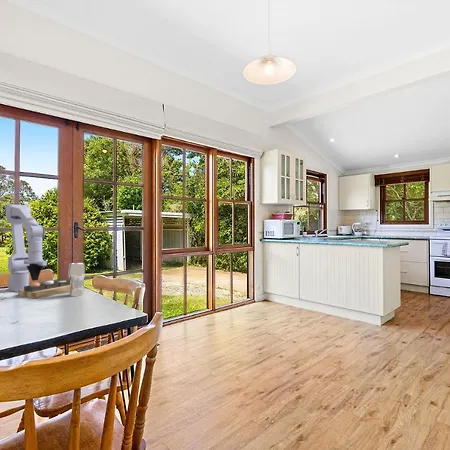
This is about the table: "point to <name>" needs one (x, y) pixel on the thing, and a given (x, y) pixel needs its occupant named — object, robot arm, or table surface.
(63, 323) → the table surface
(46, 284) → the button grey
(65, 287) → the button panel
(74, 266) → the beer glass
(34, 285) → the button terracotta
